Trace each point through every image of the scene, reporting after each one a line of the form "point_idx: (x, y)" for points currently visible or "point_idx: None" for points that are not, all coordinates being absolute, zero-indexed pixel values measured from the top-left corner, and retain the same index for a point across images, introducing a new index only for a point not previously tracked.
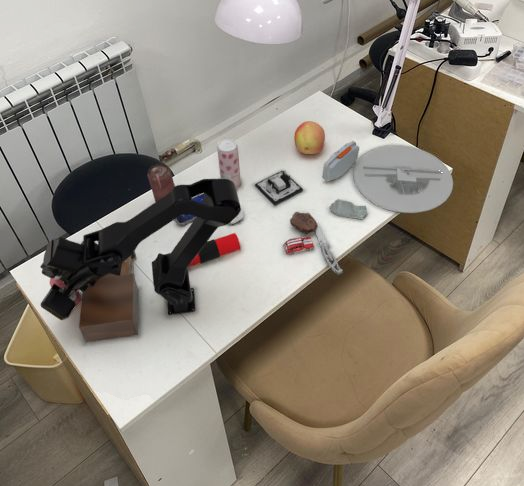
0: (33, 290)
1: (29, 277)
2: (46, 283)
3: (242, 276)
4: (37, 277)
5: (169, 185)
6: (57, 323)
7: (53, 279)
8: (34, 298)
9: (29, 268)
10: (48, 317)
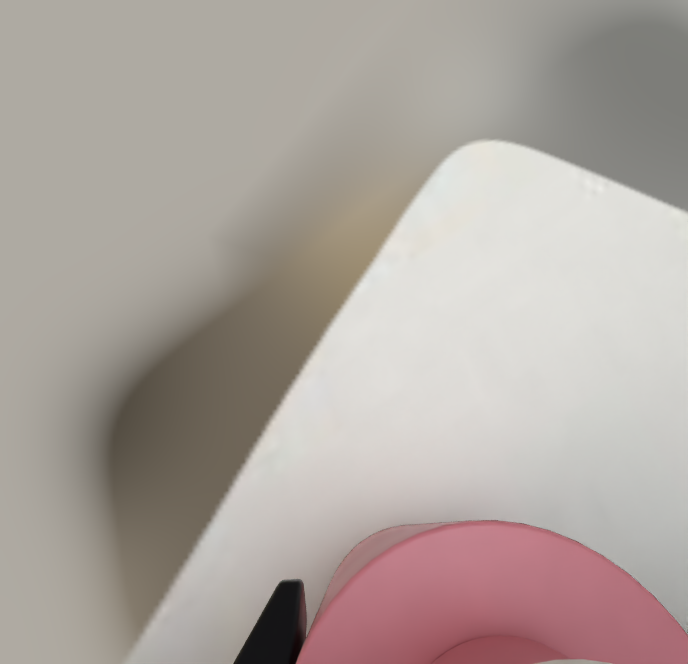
0: (401, 273)
1: (473, 199)
2: (480, 318)
3: None
4: (494, 240)
5: None
6: (208, 605)
7: (448, 608)
8: (351, 313)
9: (527, 164)
10: (241, 498)
